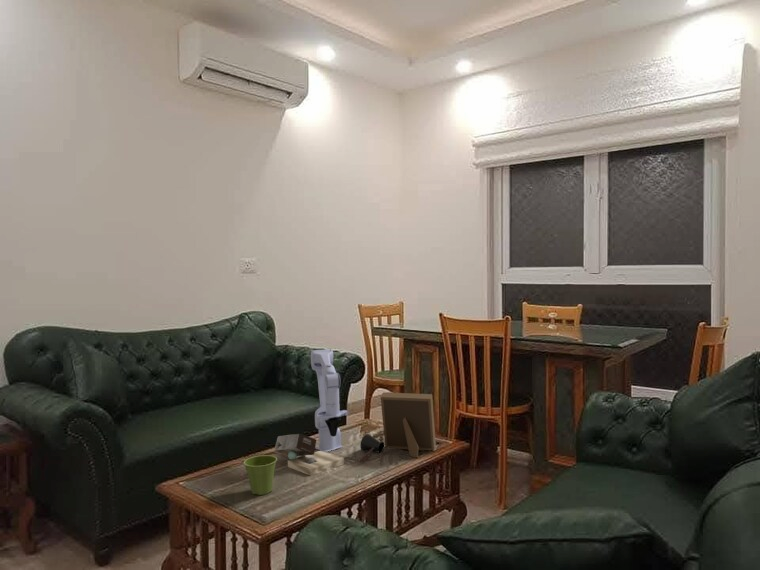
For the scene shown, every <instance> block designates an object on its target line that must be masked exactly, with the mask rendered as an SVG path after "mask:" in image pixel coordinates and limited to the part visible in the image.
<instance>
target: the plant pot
mask: <svg viewBox="0 0 760 570" xmlns="http://www.w3.org/2000/svg"><path fill="white" fill-rule="evenodd" d="M277 461H278V458H277V456H274V455H272V454H271V455H270V454H262V455H257V456H256V455H255V456H252V457H249V458H246V459H245V460H244V461H243V465H244V467H245V470H246V473H247V476H248V482H249V486H250V491H251V493H252V494H253V495H258V496H263V495H268V494H270V492H272V491H273V485H274V476H275V475H274V474H275V468H276V463H277Z"/></svg>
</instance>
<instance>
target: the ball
mask: <svg viewBox="0 0 760 570" xmlns="http://www.w3.org/2000/svg"><path fill="white" fill-rule="evenodd" d="M306 463H307V464H311V463H314V460H313V459H308V460H307V461H306Z"/></svg>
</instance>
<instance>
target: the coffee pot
mask: <svg viewBox="0 0 760 570" xmlns="http://www.w3.org/2000/svg"><path fill="white" fill-rule="evenodd" d="M359 444H360V450H361V451H362V452H366V453H364V454H363V455H362V456H361V457H360V456H359V457H358V458H357V460H358V462H360V463H363V462H365V461H366V460H367V459H368V458H369V455H370V454H372V452H375V453H376V452H377V453H378V454H381V453H383V452H384V448H385V441H379V440H378V439H377V438H375V437H374V436H373V435H371V434H370V433H365V434H364V435H363V436H362V438H361V440H360V443H359Z"/></svg>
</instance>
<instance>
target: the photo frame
mask: <svg viewBox="0 0 760 570" xmlns="http://www.w3.org/2000/svg"><path fill="white" fill-rule="evenodd" d="M380 405H381V416H382V425H383V437H384V448H385V449H395V450H408V453H409V457H412V456H414V457H413V458H415V457H418V458H419V451H424V450H434V449H435V450H436V447H437V445H436V444H437V443H436V442H437V441H436V440H437V439H436V429H435V428H436V427H435V417H434V416H435V414H434V400H433V394H432V393H412V392H411V393H407V392H384V391H383V392H382V394H381V396H380ZM435 450H434V451H435Z"/></svg>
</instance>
